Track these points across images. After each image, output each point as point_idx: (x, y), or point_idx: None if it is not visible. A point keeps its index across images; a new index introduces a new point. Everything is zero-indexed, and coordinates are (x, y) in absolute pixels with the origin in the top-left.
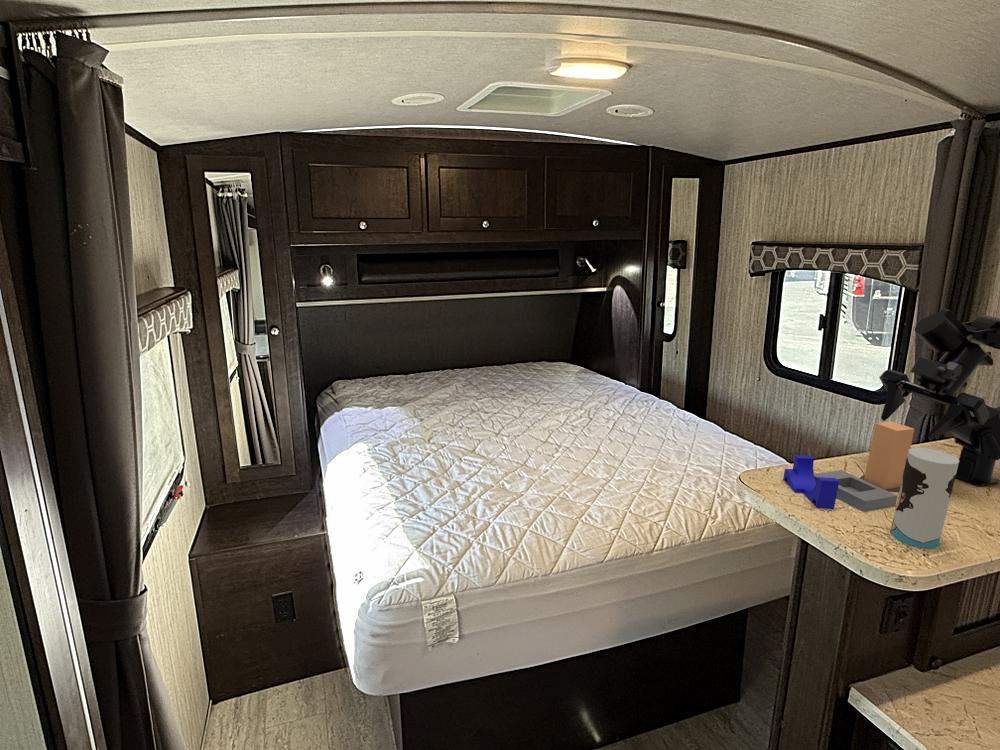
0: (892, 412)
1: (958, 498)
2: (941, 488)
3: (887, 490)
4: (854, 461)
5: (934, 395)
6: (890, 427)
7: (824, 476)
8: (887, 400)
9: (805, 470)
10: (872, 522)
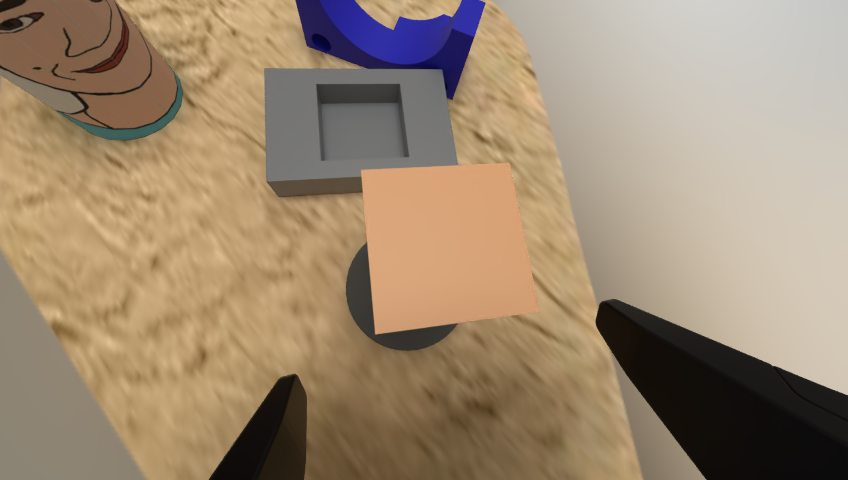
0: (667, 415)
1: None
2: None
3: (360, 252)
4: (576, 348)
5: None
6: (426, 184)
7: (424, 91)
8: (797, 383)
9: (441, 38)
10: (234, 82)
